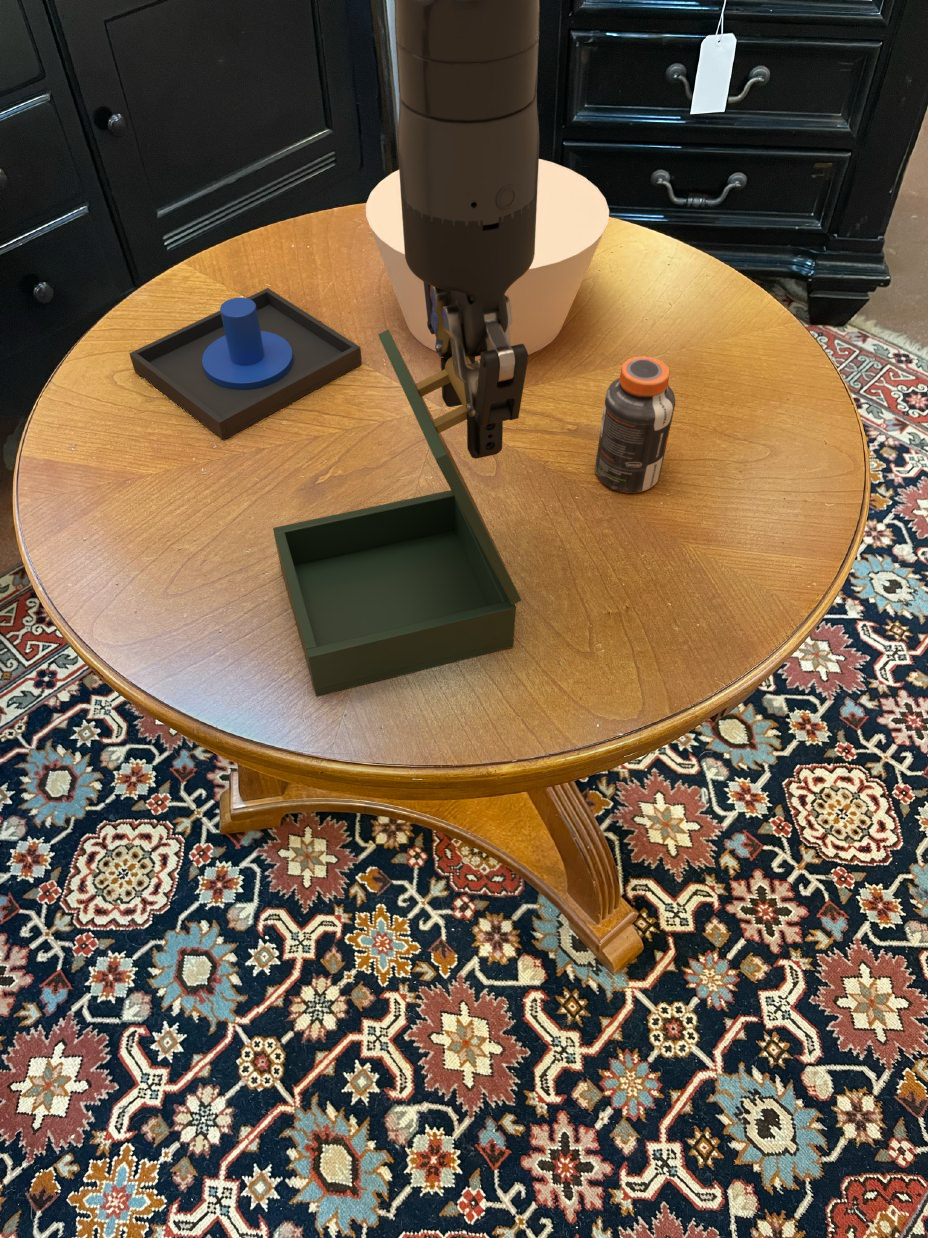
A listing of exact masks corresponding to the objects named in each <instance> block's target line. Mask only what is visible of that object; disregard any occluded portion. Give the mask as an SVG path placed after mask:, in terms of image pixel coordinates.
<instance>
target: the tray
mask: <svg viewBox="0 0 928 1238" xmlns="http://www.w3.org/2000/svg"><path fill="white" fill-rule="evenodd" d="M246 298H248V299H250V300H252V301H253V302H254V303H255V304H256V309H257V315H258V321H259V326H260V331H266V332H270V333H274V334H276V335H279V336H280V337H282V338H284V339H285V340H286V341H287V342H288V343H289V344H290V346H291V348H292V353H293V364H292V367H291V369H290V370H289V372H288V373H287V374H286V375H285V376H284V377H282V378H281V379H279V380H278V381H276V382H274V383H272V384H269V385H267V386H263V387H259V388H254V389H232V388H227V387H223V386H220V385H218V384H216V383H214V382H213V381H211V380H210V379H209V378H208V377H207V376H206V374H205V372H204V369H203V364H202V357H203V354H204V351H205V350H206V348H207V347H208V346H209V345H210V344H211V343H213V342H214V341H216V340H217V339H219V338H221V337H223V336H225V331H224V326H223V321H222V316H221V312H220V310H218V311H215V312H213V313H212V314H209V315H207V316H205V317H203V318H201V319H199V320H196V321H195V322H192V323H190V324H188V325H186V326H184V327H181V328H180V329H177V330H175V331H173V332H171V333H169V334H167V335H165V336H163V337H161V338H158V339H156V340H155V341H152V342H150V343H148V344H146V345H143V346H141V347H140V348H137V349H135V350H132V351H131V352H129V353H128V355H129V358H130V360H131V364H132V367H133V371H134V372H135V373H137V375H138V376H140V377H142V378H143V379H144V380H146V381H147V382H148V383H149V384H150V385H152V386H153V387H155V388H156V389H157V390H158V391H160V392H161V393H162V394H163V395H164V396H166V397H167V398H168V399H170V400H171V401H173V402H174V403H175V404H176V405H177V406H179V407H180V408H181V409H183V410H184V411H185V412H186V413H188V415H191V417H193V418H194V419H195V420H197V421H198V422H199V423H200V424H202V426H203V427H206V428H207V429H208V430H209V431H210V432H212V433H213V434H214V435H216V436H217V437H218V438H219V439H221V440H222V441H225V440H227V439H229V438H231V437H232V436H234V435H236V434H238V433H240V432H241V431H243V430H245V429H247V428H249V427H250V426H253V425H254V424H256V423H258V422H259V421H261V420H264V419H265V418H268V417H269V416H271V415H272V414H274V413H275V412H278V411H279V410H281V409H284V408H285V407H287V406H288V405H291V404H292V403H295V401H298V400H300V399H302V398H303V397H305V396H307V395H309V394H311V393H312V392H315V391H316V390H318V389H320V388H321V387H324V386H325V385H327V384H329V383H331V382H332V381H334V380H336V379H338V378H340V377H342V376H343V375H345V374H347V373H349V372H351V371H352V370H354V369H356V368H358V367H360V366H362V364H363V363H362V351H361V350H362V349H361V346H359V345H358V344H356V343H355V342H354V341H352V340H351V339H349V338H347V337H346V336H344V335H342V334H341V333H339V332H338V331H336V330H335V329H333V328H331V327H330V326H328V325H327V324H326V323H324V322H322V321H320V320H319V319H317V318H316V317H315V316H313V315H311V314H309V312H306V311H305V310H303V309H302V308H300V307H299V306H297V305H296V304H294V303H292V302H291V301H289V300H288V299H286V298H285V297H282V296H281V295H280V294H278V293H277V292H275V291H273V290H272V289H270V288H269V287H267V288H264V289H263V290H260V291H258V292H256V293H254V294H251V295H250V296H247V297H246Z"/></svg>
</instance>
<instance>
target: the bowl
mask: <svg viewBox="0 0 928 1238" xmlns="http://www.w3.org/2000/svg"><path fill="white" fill-rule="evenodd" d="M606 199H607V198H606V197H605V196H604V194H603V193H602V192H601V191H600V189H599V188H598V186H596V185H595V184H594V183H592V182H591V181H590V180H588V179H587V177H585V176H583V175H581V174H579V173H578V172H576V171H575V170H572V169H571V168H568V167H565V166H563V165H560V164H558V163H555V162H552V161H548V160H545V159H541V158H539V166H538V189H537V211H536V233H535V254H534V259H533V262H532V264H531V266H530V268H529V269H528V270H527V272H526V273H525V274H524V275H523V276H521V277H520V278H519V279H517V280H516V281H515V282H514V283H513V284H512V285H511V286H510V287H509V288H508V289H507V291H506V292H505V295H506V294H507V295H508V297H509V299H510V303H511V312H512V323H511V325H510V327H509V333H510V343H511V346H513V345H518V344H524V346H525V348H526V350H527V352H528V356H529V355H532V354H534V353H536V352H539V351H542V349H544V348H545V347H546V346H548V345H549V344H552V342H553V341H554V340H555V339H556V337H558V335H559V334H560V332H561V331H562V328H563V326H564V324H565V322H566V319H567V316H568V315H569V312H570V310H571V308H572V305H573V304H574V301H575V299H576V296H577V294H578V292H579V290H580V287H581V285H582V283H583V280H584V278H585V276H586V274H587V271H588V269H589V267H590V264H591V263H592V260H593V258H594V256H595V253H596V252H597V249H598V246H599V244H600V242H601V239H602V237H603V235H604V233H605V231H606V228H607V226H608V224H609V219H610V209H609V205H608V203H607V200H606ZM365 217H366V219H367V223H368V225H369V227H370V231H371V233H372V236H373V238H374V242H375V244H376V246H377V250H378V252H379V254H380V257H381V259H382V262H383V266H384V268H385V270H386V273H387V275H388V278H389V281H390V284H391V287H392V289H393V292H394V294H395V296H396V300H397V303H398V305H399V308H400V310H401V313H402V315H403V316H402V317H403V318H404V321H405V323H406V326H407V328H408V330H409V332H410V334H412V336H413V337H414V338H415V340H417V341H418V342H419V343H421V344H422V345H423V346H424V347H426V348H428V349H430V350H431V351H433V352H435V353H437V352H436V349H435V345H436V336H435V334H431V333H430V330H429V329H428V326H427V322H428V318H427V309H426V300H425V291H424V281H422V280H421V279H419V278H418V277H417V276H416V275H415V274H414V273H413V272H412V271H411V270H410V268H409V267H408V264H407V262H406V259H405V249H404V235H403V220H402V205H401V190H400V175H399V169H398V170H396V171H394V172H391V173H390V174H388V175H387V176H386V177H385V178H383V179H382V180H380V182H378V184H377V185H376V186H375V187H374V188H373V189H372V190H371V192H370V194H369V196H368V199H367V201H366V203H365ZM478 359H480V356H477V357H475V362H477V361H478Z"/></svg>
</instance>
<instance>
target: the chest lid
mask: <svg viewBox="0 0 928 1238" xmlns="http://www.w3.org/2000/svg"><path fill="white" fill-rule="evenodd" d="M377 336H378V337H379V338H378V339H379V340H380V343H381V345H382V347H383V349H384V351H385V353H386V355H387V358H388V360H389V362H390V364H391V366H392V368H393V371H394V373H395V375H396V377H397V379H398V382H399V384H400V386H401V388H402V390H403V392H404V394H405V397H406V399H407V401H408V404H409V405H410V408H411V410H412V412H413V415H414V416H415V418H416V422H417V423H418V425H419V427H420V430H421V432H422V433H423V437H424V438H425V440H426V442H427V445H428V447H429V448H430V451H431V453H432V456H433V458H434V460H435V462H436V464H437V466H438V468H439V469H440V472H441V473H442V475H443V477H444V480H445V481H446V483H447V485H448V487H449V488H450V489H449V490H452V492H453V494H454V496H455V498H456V500H457V502H458V504H459V506H460V508H461V509H462V511H463V513H464V515H465V517H466V519H467V521H468V523H469V525H470V527H471V528H472V530H473V532H474V534H475V536H476V538H477V540H478V542H479V544H480V545H481V547H482V549H483V551H484V553H485V555H486V557H487V559H488V561H489V563H490V564H491V566H492V568H493V570H494V572H495V574H496V576H497V578H498V580H499V582H500V583H501V585H502V587H503V589H504V591H505V593H506V595H507V597H508V599H509V601H510V602H511V604H512V605H513V604H515V605H516V604H517V603H519V602H521V601H522V598H521V596H520V594H519V592H518V590H517V587H516V585H515V583H514V581H513V579H512V577H511V575H510V573H509V570H508V568H507V566H506V565H505V562H504V560H503V558H502V556H501V554H500V551H499V550H498V547H497V546H496V543H495V541H494V540H493V539H494V538H493V537H492V535H491V533H490V531H489V529H488V527H487V525H486V523H485V521H484V519H483V516H482V514H481V512H480V510H479V508H478V506H477V504H476V501H475V500H474V497H473V494H472V493H471V491H470V489H469V487H468V485H467V483H466V481H465V478H464V477H463V475H462V472H461V470H460V469H459V466H458V465H457V462H456V461H455V459H454V456H453V455H452V453H451V451H450V449H449V446H448V445H447V442H446V441H445V439H444V437H443V435H442V433H443V432H445V431H447V430H448V429H451V428H453V427H456V425H458V424H461V423H463V422H465V421H467V410H466V397H465V389H464V382H463V381H461V380H460V379H459V378H458V377H457V376H456V375H455V372H454V365H453V357H450V358H449V359H448V360H447V362H446V364H445V369H444V370H442V371H441V370H440V371H438V372H437V373H435V374H433V375H430V376H429V377H426V378H424V379H423V380H420V381H419V382H417V383H416V381H415V379H414V377H413V375H412V374H411V372H410V369H409V367H408V365H407V363H406V362H405V359H404V357H403V355H402V353H401V351H400V350H399V347H398V346H397V343H396V341H395V340H394V338H393V336H392V334H391V332H390V330H389V329H386V330H383V331H382V332H380V333H378V335H377ZM466 364H472V363H471V361H470V359H469V358H468V357H466ZM450 382H451V384H452V385H453V387H454V389H455V391H456V393H457V395H458V397H459V399H460V401H461V403H462V405H459V406H457V407H456V408H454V409H452V410H450V411H448V412H447V413H444V414H443V415H439V416H438V417H437V418H434V417H433V414H432V413H431V411H430V409H429V407H428V405H427V403H426V401H425V399H424V396H427V395H428V394H430V393H432V392H435V391H436V390H438V389H440V388H442V386H444V385H446V384H448V383H450ZM477 386H478V381H477V383H476V388H477Z"/></svg>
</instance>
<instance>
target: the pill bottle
mask: <svg viewBox="0 0 928 1238" xmlns="http://www.w3.org/2000/svg"><path fill="white" fill-rule="evenodd" d="M670 374H671V372H670V368H669V366H668V365H667V364H666V362H665V363H664V361H662V360H660V359H658V358H656V357H652V356H648V355H647V356H646V355H645V356H644V355H641V356H634V357H631V358H628V359H626V360H625V362H623V363H622V366H621V369H620V374H619V377H618V378H617V379H615V380H614V381H612V382H611V383H610V385H609V386H608V387H607V390H606V393H605V397H604V403H603V410H602V415H601V422H600V430H599V437H598V445H597V452H596V458H595V464H594V465H595V466H594V468H595V469H594V470H595V474H596V476H597V478H598V480H599V481H600V482H601V483H602V484H603V485H605V486H606V487H608V488H610V489H611V490H614V491H617V492H621V493H628V494H634V493H641V492H644V491H647V490H649V489H651V488H653V486H655V485H656V484H657V482H659V480H660V477H661V473H662V469H663V463H664V458H665V453H666V450H667V445H668V440H669V436H670V431H671V425H672V422H673V417H674V413H675V407H676V395H675V393H674V391H673V389H672V388H671V386H670V385H669V381H670V376H671V375H670Z"/></svg>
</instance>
